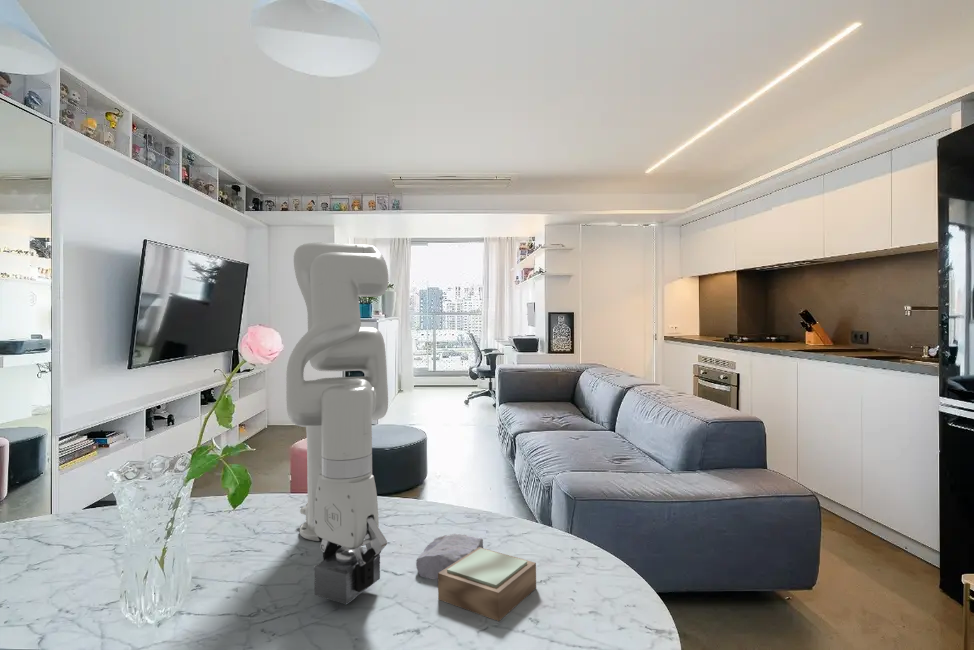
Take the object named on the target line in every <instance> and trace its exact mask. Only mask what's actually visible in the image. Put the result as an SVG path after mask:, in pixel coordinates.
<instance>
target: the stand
mask: <svg viewBox="0 0 974 650" xmlns="http://www.w3.org/2000/svg"><path fill="white" fill-rule="evenodd" d="M536 589H537V563H536V561H535V562H534V561H532V560H528V559H524V558H520V557H516V556H512V555H510V554H509V555H508V554H505V553H501V552H499V551H494V550H491V549H487V548H484V547H483V548H480V547H479V548H477V549H476V550H474V551H472V552H471V553H469V554H468V555H466V556H464V557H463V558H461V559H460V560H458V561H456V562H455V563H453V564H452V565H450V566H448V567H447V568H445V569H444V570H442V571H440V572H439V573H438V579H437V596H438V600H439V601H442V602H445V603H448V604H449V605H450V604H451V605H453V606H455V607H459V608H461V609H464V610H466V611H469V612H472V613H475V614H477V615H480V616H483V617H486V618H489V619H491V620H494V621H496V620H497V621H496V622H501V620H502V619H503V618H504V617H506V616H507V615H508V614H510V612H511V611H512V610H514V608H516V607H517V606H518V605H519V604H520V603H521V602H523V600H525V599H526V598H527V597H528V596H530V594H531V593H533V592H534V591H535V590H536Z"/></svg>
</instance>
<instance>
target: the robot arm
mask: <svg viewBox="0 0 974 650" xmlns="http://www.w3.org/2000/svg"><path fill="white" fill-rule="evenodd" d="M293 267H294V268H293V270H294V274H295V278H296V282H297V285H298V287H299V291H300V293H301V295H302V297H303V300H304V303H305V306H306V311H307V312H306V313H307V332H306V333H305V334H304V335H302V337H301V338H300V339H299V340H298V342H297V343H296V344H295V346H294V348H293V349H292V351H291V353H290V356H289V359H288V362H287V366H286V373H285V374H286V378H285V379H286V382H285V383H286V389H285V390H286V397H285V401H286V411H287V412H286V413H287V417H288V419H289V420H290V422H291V423H292V424H294V425H295V426H297V427H300V428H301V427H303V428H305V433H306V454H307V455H306V458H307V460H306V462H307V463H306V465H307V475H306V476H307V478H306V480H307V481H306V482H307V502H306V504H305V506H304V507H300V510H299V513H300V514H302V515H304V516H305V522H303V523H302V524H301V526H300V527H299V535H300V536H301V537H302V538H304V539H305V540H308V541H309V540H310V541H313V542H315V541H316V542H320V546H319V549H320V551H322V561H324V560H325V559H327V558H329V557H330V556H332V555H333V554H335V553H336V551H337V550H338V549H339V548H341V547H345V548H348V549H354V551H355V554H356V558H357V561H358V564H357V565H355V590H356V591H357V592H360V591H362V590H364V589H366V588H367V587H368V588H369V586H370V587H371V586H373V582H374V560H375V559H376V558H377V556H378V555H379V554H380V555H381V554H382V553H381V552H382V551H383V549H384V548H385V547H386V546H387V545H388V541H387V539H386V537H385V536H384V534H383V533H382V531H381V529H380V528H379V525H380V524H379V520H380V518H379V504H378V503H379V502H378V494H377V493H378V492H377V487H376V482H375V476H374V475H373V441H372V440H373V436H372V435H373V431H372V430H373V428H372V426H373V425H372V424H373V422H372V421H377V420H381V419H383V418H384V417H385V416H386V414H387V412H388V408H389V388H388V370H387V354H386V344H385V340H384V335H383V334H382V332H381V331H380V330H379V329H377V328H375V327H371V326H362V321H361V310H360V300H359V299H360V297H371V298H372V297H375V298H376V297H381V296H383V295H385V293H386V292H387V289H388V288H389V287H388V286H389V279H390V278H389V270H388V265H387V262H386V260H385V257H384V256H383V254H382V253H381V252H380V251H379V249H378V248H377V247H375V246H374V245H372V244H371V245H370V244H362V243H361V244H359V243H340V242H339V243H337V242H325V241H324V242H323V241H322V242H308V243H304V244H301V245H299V246H298V247H297V248H296V249H295V251H294V254H293ZM308 362H309V364H310V366H311V367H312V368H313V369H314V370H315V371H319V372H352V371H353V372H354V371H355V372H356V371H360V372H362V373H363V374H364V375H363V376H338V377H335V376H334V377H324V378H317V379H314V380H313V379H312V380H305V378H304V373H305V367H306V366H307V363H308ZM363 546H364V547H365V548H367V552H366V553H365V554H364V553H363V550H362V547H363ZM368 588H367V589H368ZM367 589H366V590H367Z"/></svg>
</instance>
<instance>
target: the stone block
mask: <svg viewBox="0 0 974 650" xmlns="http://www.w3.org/2000/svg"><path fill="white" fill-rule="evenodd" d="M479 547H480V548H484V540H483V538H482V537H476V536H472V535H467V534H462V533H452V534H449V535H443V536H442V535H441V536H439V537H436V538H433V540H432V542H430V543H428V544H427V546H425V548H424V549H423V551H422V552H421V553H420V554H419V556H418V557H417V559H416V560H415V561H416V562H415V564H416V569H417V572H418V574H419V577H422V578H427V579H429V580H438V573H439V572H440V571H442V570H444V569H445V568H447V567H448V566H450V565H452V564H453V563H455V562H456V561H458V560H460V559H461V558H463V557H464V556H466V555H468V554H469V553H471V552H472V551H474V550H476V549H477V548H479Z"/></svg>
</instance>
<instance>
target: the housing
mask: <svg viewBox="0 0 974 650" xmlns="http://www.w3.org/2000/svg"><path fill="white" fill-rule="evenodd" d="M362 550H363V553H364V554H365V553H366V552H367V548H366V547H363V546H362ZM380 555H381V553H380V554H379V555H378V556H377V558H376V559H375V560H374V582H373V584H375V583H376V582H377V581H379V580H380V579H381V560H380V559H381V556H380ZM357 564H358V561H357V558H356V554H355V551H354V549H348V548H345V547H343V546H341V548H339V549H338V550H337V551H336V553H335V554H333V555H332V556H330V557H329V558H327V559H325V560H324V561H323V560H322V561H320V562H318V563H317V564H316V565H314V568H313V569H314V596H317V597H320V598H323V599H326V600H330V601H332V602H333V601H334V602H337V603H340V604H343V605H347V604H349V603H350V602H352V601H353V600H354V599H355V598H357V597H358V596H359V595H361V594H362V593H363V592H365V591H366V590H367V589H368V588H369V587H371V586H369V587H367V588H366V589H364V590H362V591H360V592H357V591H356V590H355V565H357ZM373 584H372V585H373Z"/></svg>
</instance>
